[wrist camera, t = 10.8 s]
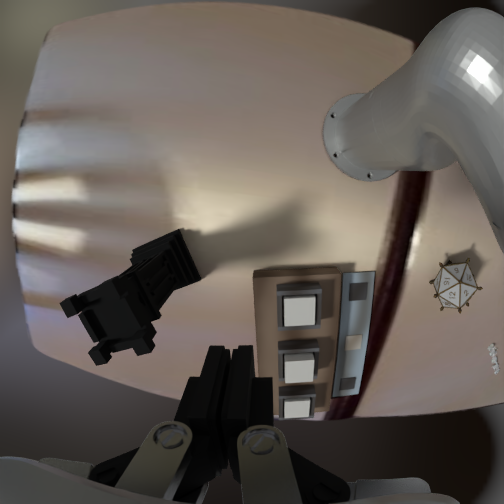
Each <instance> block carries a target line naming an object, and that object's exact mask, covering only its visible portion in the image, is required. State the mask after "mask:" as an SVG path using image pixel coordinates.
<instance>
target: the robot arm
mask: <svg viewBox="0 0 504 504" xmlns="http://www.w3.org/2000/svg"><path fill="white" fill-rule="evenodd" d="M331 115H333V116H334V118H332V117H331ZM323 141H324V146H325V149H326V151H327V154H328V155H329V157H330V159H331V161H332V162H333V163H334V164H335V165H336V167H337V168H338V169H340V170H341V171H342V172H343V173H345V174H346V175H348V176H350V177H352V178H354V179H357V180H362V181H370V182H372V181H379V180H382V179H385V178H387V177H389V176H391V175H392V174H394V173H395V172H396V171H397V170H405V171H434V170H440V169H443V168H446V167H448V166H450V165H452V164H453V163H454V162H455V161H458V162H459V164H460V166H461V168H462V169H463V171H464V173H465V175H466V177H467V179H468V180H469V182H470V183H471V184H472V186H473V188H474V190H475V192H476V194H477V197H478V199H479V201H480V203H481V205H482V207H483V209H484V212H485V214H486V216H487V218H488V221H489V223H490V225H491V227H492V230H493V232H494V235H495V237H496V239H497V242H498V244H499V246H500V248H501V250H502V252H503V253H504V17H503V16H501V15H499V14H497V13H495V12H493V11H491V10H487V9H483V8H467V9H463V10H460V11H457V12H455V13H453V14H451V15H450V16H448V17H447V18H445V19H444V20H442V21H441V22H440V23H439V24H438V25H436V26H435V28H434V29H433V30H432V31H431V32H430V33H429V34H428V35H427V36H426V38H425V39H424V40H423V42H422V43H421V44H420V46H419V47H418V49H417V50H416V51H415V53H414V54H413V55H412V57H411V58H410V59H409V60H408V61H407V62H406V63H405V64H404V65H403V66H402V67H401V68H399V69H398V70H397V71H396V72H395V73H393V74H392V75H391V76H389V77H388V78H386V79H385V80H384V81H383V82H381V83H380V84H379V85H377V86H376V87H375V88H373V89H372V90H371V91H369V92H368V93H367V94H364V93H357V94H351V95H348V96H346V97H343V98H342V99H340V100H339V101H337V102H336V103H335V104H334V105H333V106H332V107H331V109H330V110H329V111H328V113H327V115H326V118H325V120H324V125H323ZM334 154H336V155H337V156H336V157H334V156H333V155H334ZM367 174H369V175H370V176H369V177H367ZM228 459H229V463H230V467H231V469H232V472H233V476H234V479H235V480H236V481H237V482H239V483H240V484H241V487H242V495H243V504H460V503H459V502H458V501H456V500H455V499H453V498H451V497H449V496H445V495H441V494H434V493H431V492H430V488H429V485H428V484H427V483H426V482H425V481H424V480H421V479H419V478H402V479H385V480H357V482H354V483H353V482H345V481H344V480H343V479H341V478H339V477H337V476H336V475H334V474H332V473H330V472H328V471H326V470H325V469H323V468H321V467H319V466H318V465H316V464H314V463H313V462H311V461H309V460H307V459H306V458H304V457H302V456H301V455H299V454H297V453H296V452H294V451H293V450H291V449H290V448H288V447H287V444H286V441H285V437H284V435H283V433H282V432H281V431H280V430H279V429H277V428H275V427H274V413H273V377H255V368H254V354H253V345H240V346H238V349H233V353H232V358H231V356H230V350H229V349H225V347H224V346H210V347H209V349H208V353H207V356H206V359H205V362H204V365H203V368H202V371H201V375H200V377H189V379H188V382H187V385H186V388H185V390H184V393H183V396H182V399H181V402H180V404H179V407H178V410H177V413H176V416H175V419H174V421H168V422H163V423H160V424H158V425H157V426H155V427H154V428H153V429H152V430H151V431H150V433H149V434H148V436H147V437H146V439H145V441H144V442H143V444H142V445H141V447H139V448H136V449H134V450H132V451H129V452H127V453H125V454H122V455H120V456H117V457H115V458H112V459H110V460H107V461H105V462H102V463H100V464H98V465H96V466H93V465H92V464H91V463H83V462H75V461H67V460H60V459H54V458H45V459H41V460H40V461H39V462H38V461H34V460H30V459H26V458H20V457H0V504H202V501H203V499H204V496H205V494H206V491H207V489H208V484H209V483H208V482H209V481H210V480H212V479H214V478H215V477H216V476H221V471H222V469H227V466H228Z"/></svg>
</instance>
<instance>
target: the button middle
mask: <svg viewBox="0 0 504 504" xmlns="http://www.w3.org/2000/svg"><path fill="white" fill-rule="evenodd" d="M284 359H285V383H300V382H313V373H314V356H313V352H303V353H285V354H284Z"/></svg>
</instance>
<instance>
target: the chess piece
mask: <svg viewBox="0 0 504 504" xmlns="http://www.w3.org/2000/svg"><path fill="white" fill-rule="evenodd" d="M132 251H133V253H132V254H131V255H132V258H131V259H130V261H131V263H132V266H131V267H130V268H128V269H127V270H126V271H124V272H123V273H122V274H120V275H119V276H116V277H114V278H111V279H109V280H107V281H105V282H103V283H102V284H100V285H99V286H97V287H94V288H92V289H90V290H88V291H85V292H83V293H81V294H79V295H78V296H77V295H76V294H75V295H73V296H71V297H68V298H66V299H65V300H63V301H62V302H61V303H60V305H61V307H62V309H63V311H64V313H65V314H66V316H67V318H69V317H71V316H74V315H76V314H78V313H79V312H81V311H82V312H81V313H80V314H79V315H78V316H79V318H80V320H81V322H82V323H83V325H84V327H85V329H86V330H87V332H88V334H89V335H90V337H91V339H92V340H93V342H94V343H95V342H98V341H99V343H98V344H97V345H96V346H94V347H93V348H92V349H91V350H90V351H89V352H88V354H89V355H90V357H91V358H92V360H93V361H94V363H95V364H96V366H97V365H102V364H106V363H108V361H109V360H110V359H111V358H112V356H111V354H110V353H111V352H112V353H114V352H118V351H122V350H126V349H130V348H133V350H134V351H135V353H136V354H137V356H139V355H143V354H147V353H151V352H152V350H153V349H154V347H155V344H154V342H153V340H152V339H153V337H154V336H155V334H156V333H157V332H156V330H155V328H154V327H153V325H152V323H151V321H154V320H157V319H159V318H160V317H161V316H162V315H161V314H160V312H159V310H160V308H161V307H162V306H163V304H164V303H165V302H166V300H167V299H168V298H169V296H170V295H171V294H172V292H173V291H174V290H177V289H179V288H182V287H185V286H188V285H190V284H193V283H195V282H198V281H200V280H201V277H200V274H199V272H198V270H197V268H196V266H195V264H194V261H193V259H192V257H191V255H190V253H189V250H188V248H187V246H186V244H185V241H184V239H183V237H182V235H181V232H180V230H179V229H178V230H175V231H173V232H171V233H168V234H166V235H164V236H162V237H159V238H157V239H155V240H153V241H150V242H148V243H146V244H144V245H142V246H139V247H137V248H135V249H133V250H132Z"/></svg>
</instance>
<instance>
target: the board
mask: <svg viewBox="0 0 504 504" xmlns="http://www.w3.org/2000/svg"><path fill="white" fill-rule="evenodd" d="M374 275H375V272H374V271H368V272H352V273H343V279H342V299H341V314H340V328H339V339H338V350H337V360H336V369H335V377H334V386H333V393H332V397H336V396H345V395H353V394H358V393H359V388H360V383H361V377H362V372H363V366H364V360H365V354H366V347H367V340H368V333H369V325H370V317H371V308H372V298H373V287H374ZM340 290H341V273H340V271H339V270H338V268H337V267H324V268H304V269H282V270H259V271H254V272H253V291H254V308H255V324H256V341H257V358H258V374H259V377H273V413H274V415H279V420H291V419H306V418H314V412H324V411H329V406H330V399H331V392H332V384H333V375H334V366H335V357H336V347H337V335H338V323H339V308H340ZM302 294H314V295H315V325H302V326H285V325H284V303H283V295H302ZM303 352H313V356H314V373H313V382H300V383H285V359H284V354H285V353H303ZM306 397H310V409H309V417H299V418H284V399H290V398H306Z"/></svg>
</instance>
